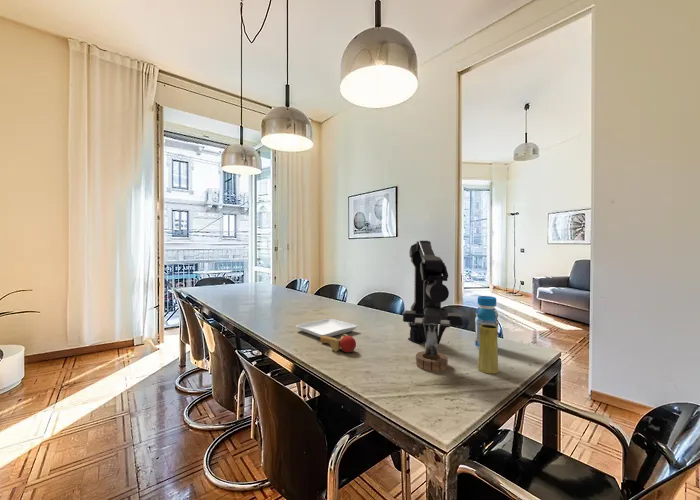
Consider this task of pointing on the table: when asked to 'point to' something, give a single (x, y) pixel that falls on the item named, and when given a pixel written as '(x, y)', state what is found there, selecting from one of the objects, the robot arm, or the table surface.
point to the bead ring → (431, 361)
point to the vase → (488, 349)
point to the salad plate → (326, 327)
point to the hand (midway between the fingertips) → (431, 343)
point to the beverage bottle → (485, 314)
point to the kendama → (340, 342)
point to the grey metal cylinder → (431, 340)
